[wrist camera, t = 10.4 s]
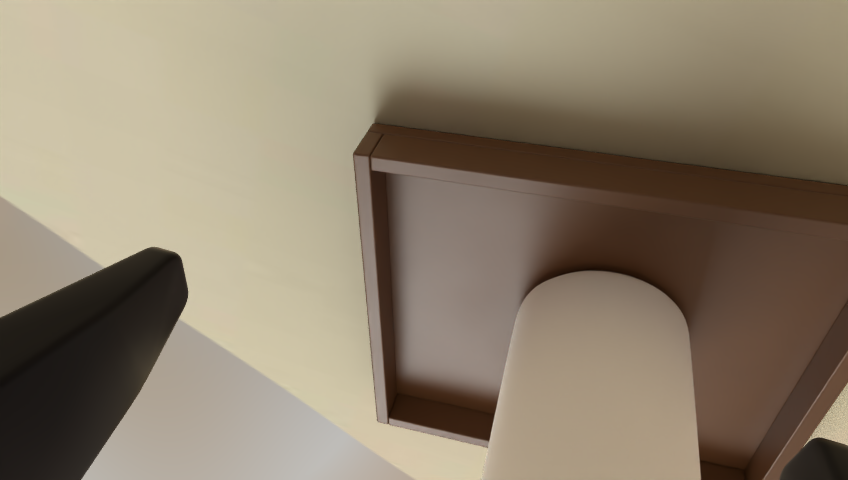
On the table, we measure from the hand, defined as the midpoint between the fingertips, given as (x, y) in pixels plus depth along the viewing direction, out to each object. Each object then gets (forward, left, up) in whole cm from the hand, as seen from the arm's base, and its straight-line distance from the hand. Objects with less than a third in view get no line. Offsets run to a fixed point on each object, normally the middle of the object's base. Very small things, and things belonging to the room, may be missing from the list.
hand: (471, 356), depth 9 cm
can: (-5, +11, -12) cm, 17 cm away
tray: (-4, +11, -13) cm, 18 cm away
